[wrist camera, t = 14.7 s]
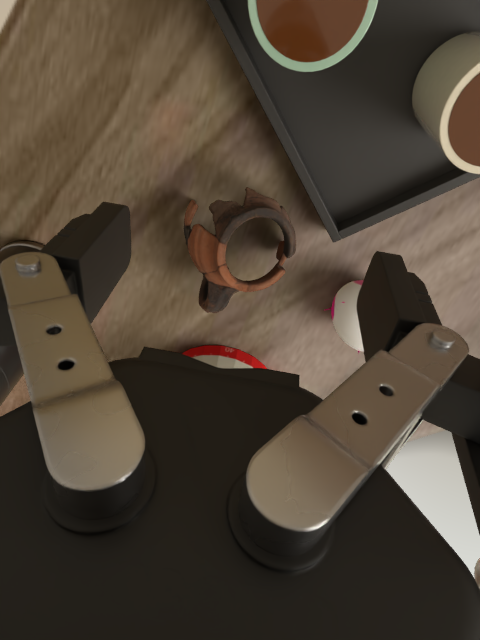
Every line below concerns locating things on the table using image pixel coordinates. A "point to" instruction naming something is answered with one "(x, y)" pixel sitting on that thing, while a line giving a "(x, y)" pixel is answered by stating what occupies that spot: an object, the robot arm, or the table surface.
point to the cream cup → (452, 100)
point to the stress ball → (347, 314)
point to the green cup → (310, 30)
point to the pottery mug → (212, 247)
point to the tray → (358, 111)
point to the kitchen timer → (224, 357)
